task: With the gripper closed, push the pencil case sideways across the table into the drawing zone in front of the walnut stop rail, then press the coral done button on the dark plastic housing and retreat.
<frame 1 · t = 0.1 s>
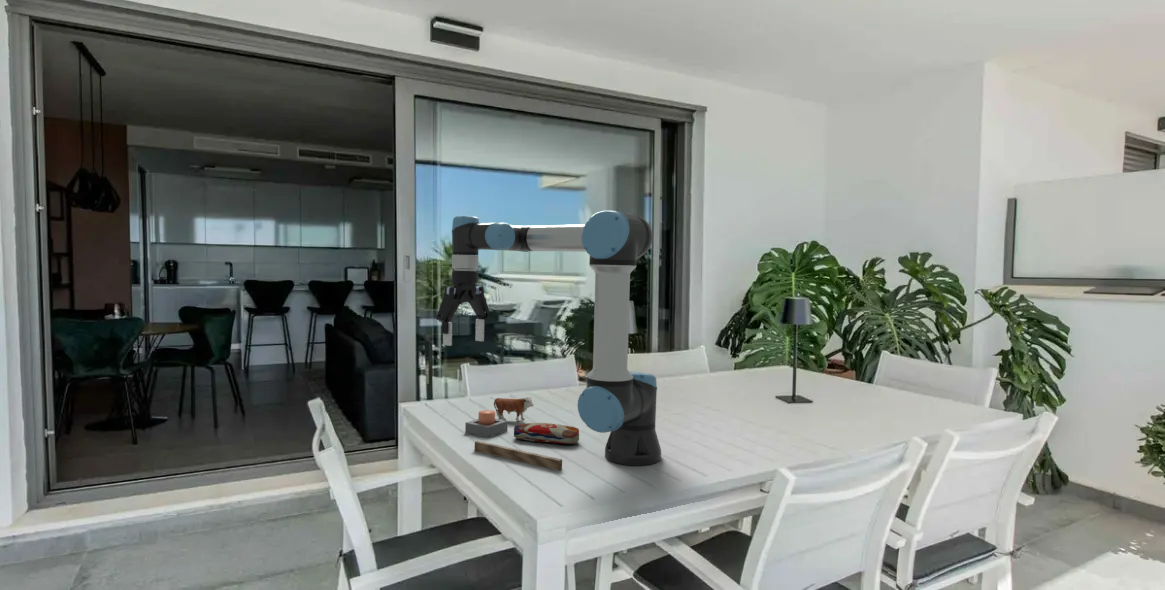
hand: (464, 343, 179), 28 cm above the table, fingers open, 13 cm apart
stop rail: (516, 459, 162), on the table
button housing: (486, 431, 188), on the table
button: (486, 418, 188), point 4 cm above the table, slide at 0.0 cm
bull figurine: (514, 420, 203), on the table
pencil case: (545, 442, 180), on the table
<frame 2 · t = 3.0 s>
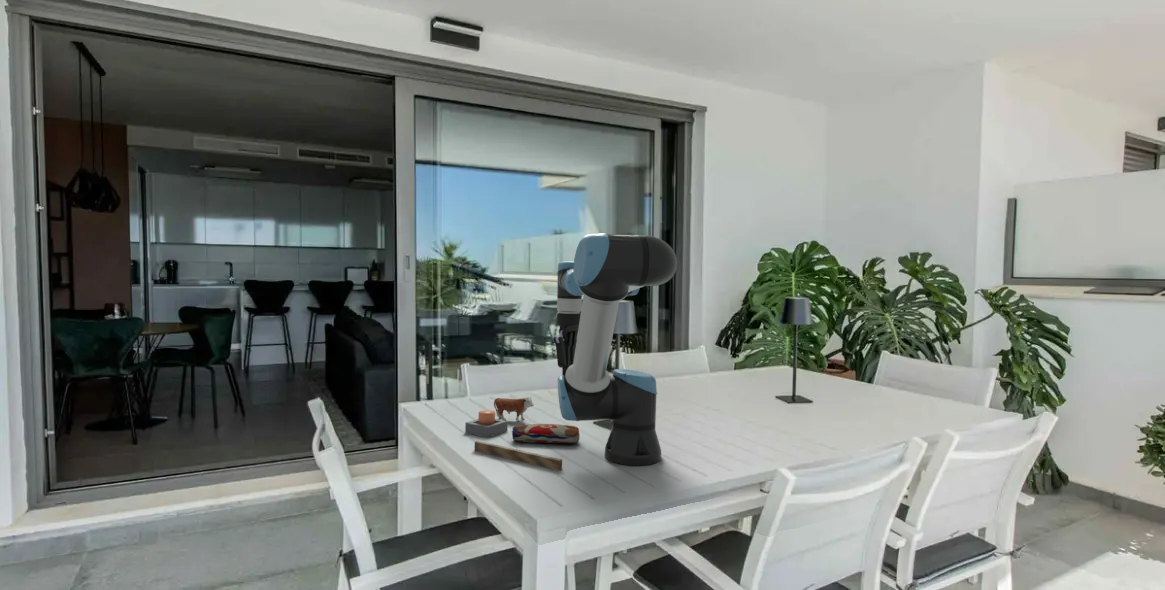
hand: (567, 388, 189), 13 cm above the table, fingers closed
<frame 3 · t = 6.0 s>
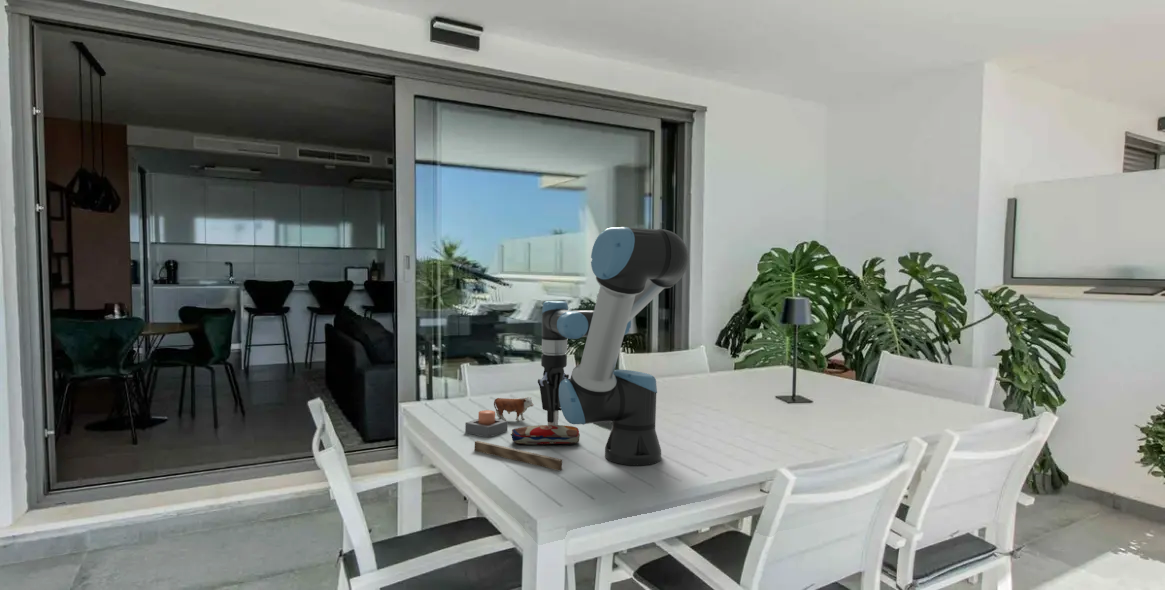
hand: (552, 432, 183), 2 cm above the table, fingers closed
pencil case: (544, 444, 178), on the table, touching gripper
everything else where it was.
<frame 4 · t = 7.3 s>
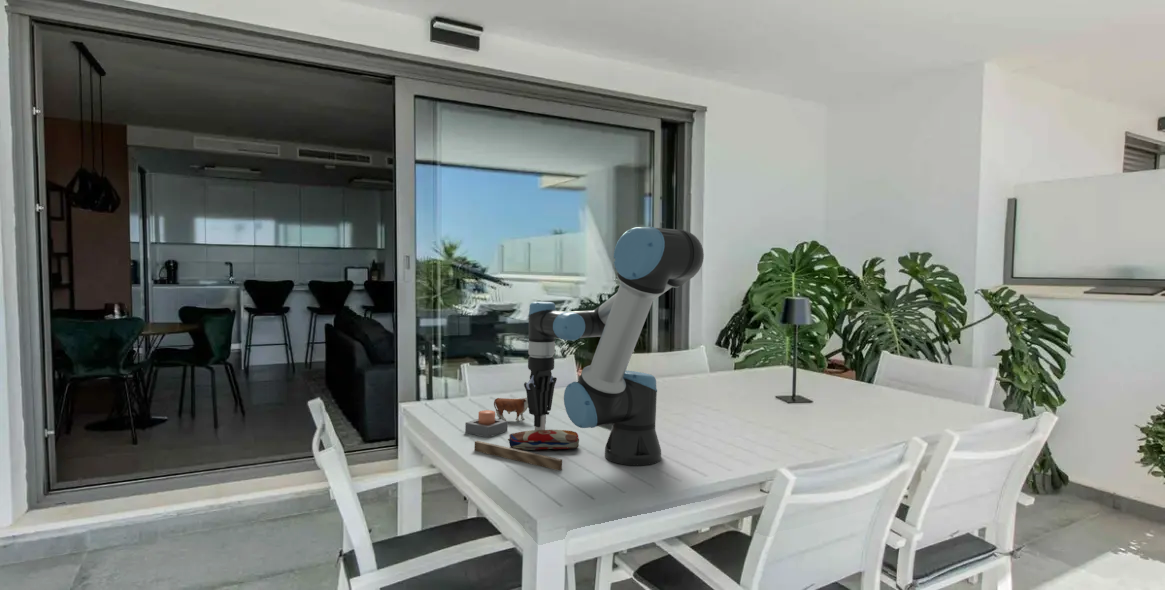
hand: (539, 437, 178), 2 cm above the table, fingers closed
pencil case: (543, 449, 173), on the table, touching gripper
everything else where it was.
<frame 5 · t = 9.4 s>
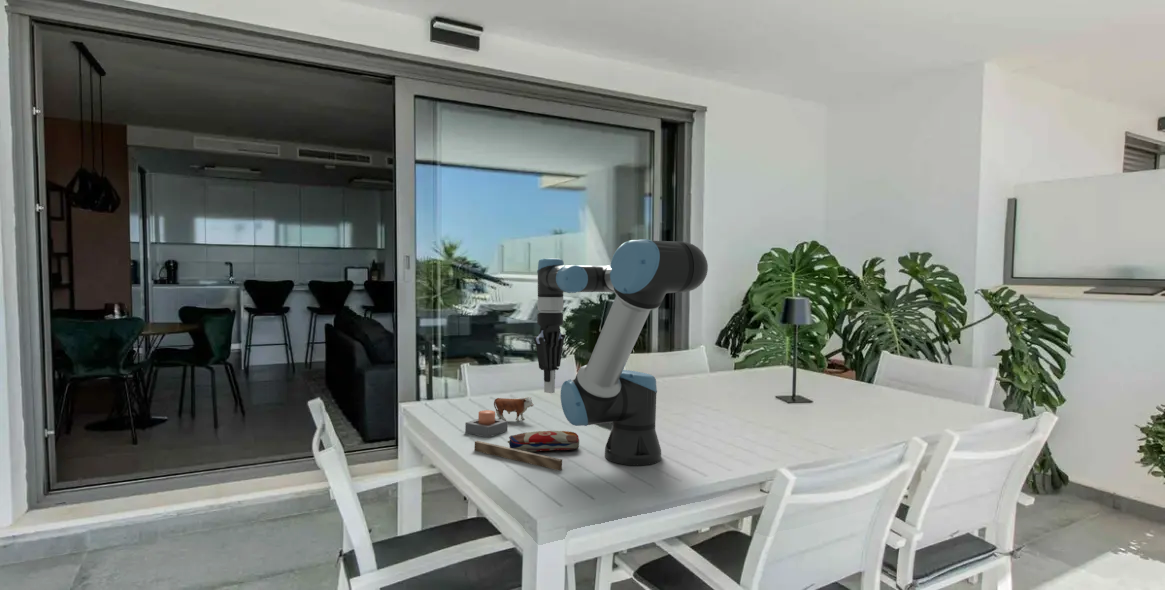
hand: (549, 392, 180), 14 cm above the table, fingers closed
pencil case: (543, 451, 171), on the table
everything else where it was.
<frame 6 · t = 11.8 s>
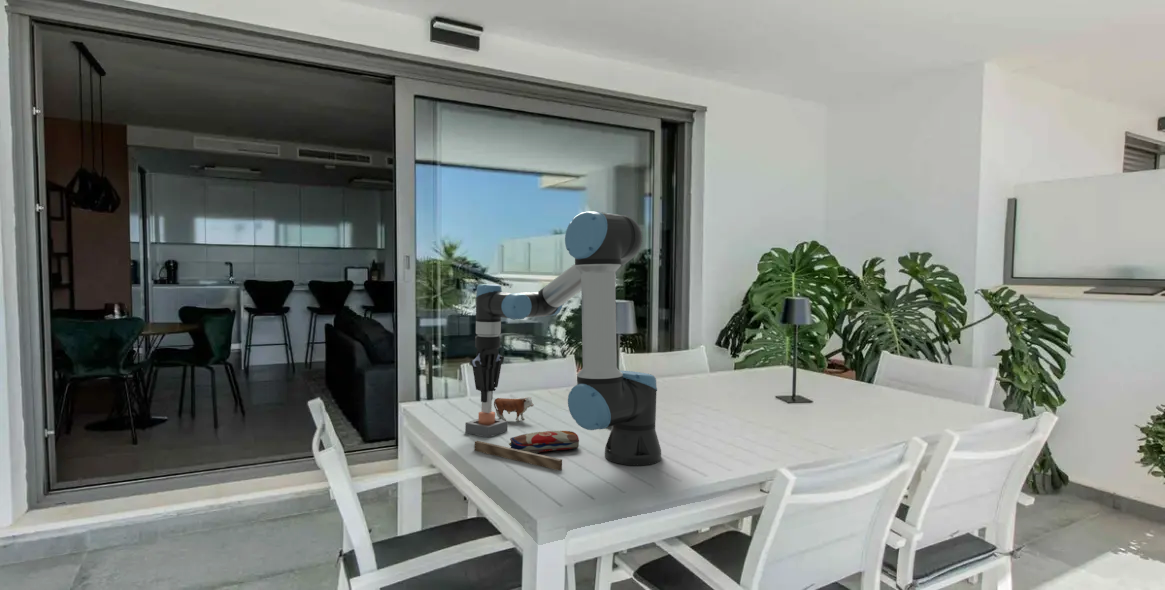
hand: (486, 412, 188), 6 cm above the table, fingers closed
button: (486, 419, 188), point 4 cm above the table, slide at 0.3 cm, touching gripper
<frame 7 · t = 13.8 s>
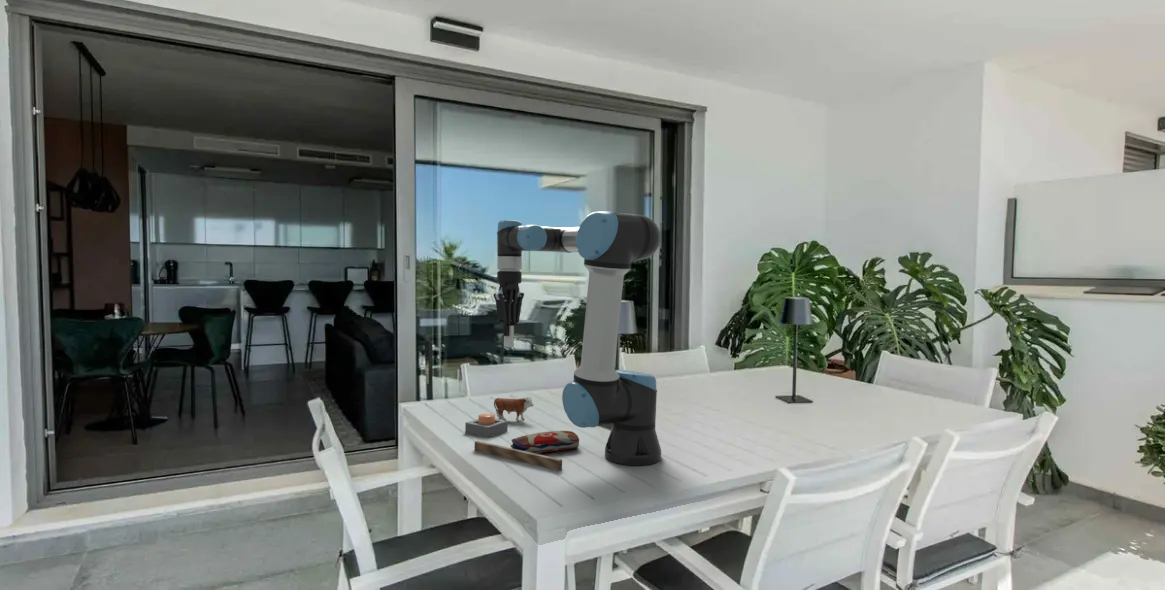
hand: (508, 346, 192), 26 cm above the table, fingers closed
button: (486, 422, 188), point 3 cm above the table, slide at 1.1 cm
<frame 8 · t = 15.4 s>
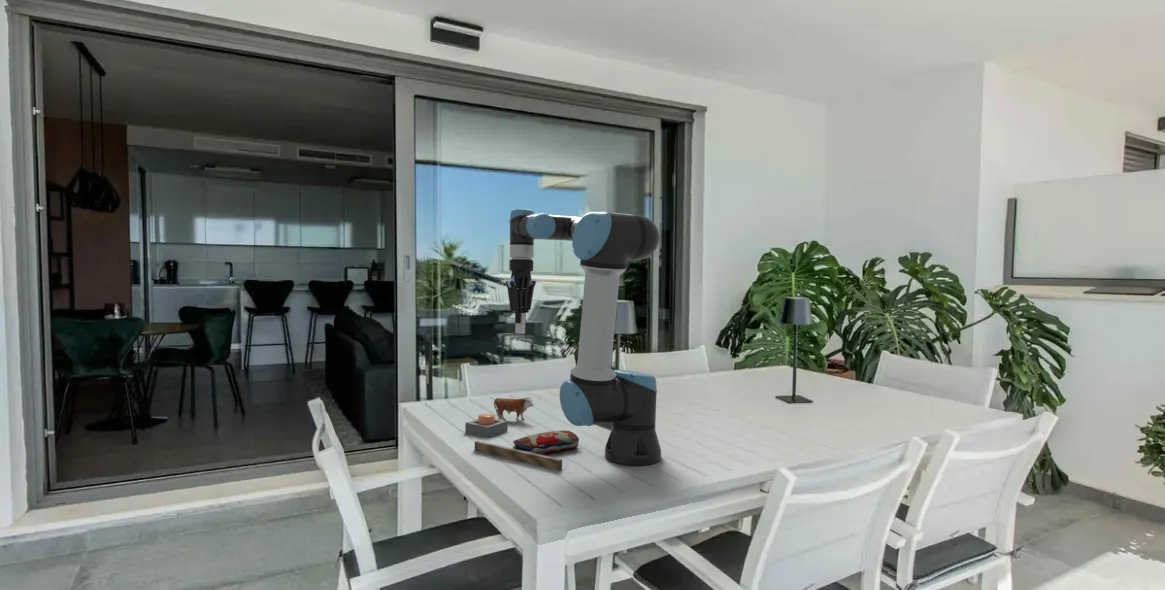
hand: (520, 333, 195), 29 cm above the table, fingers closed
at the end: pencil case inside the target area (6.3 cm from its centre), on the table; button slide at 1.1 cm; pencil case tilted 0° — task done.
